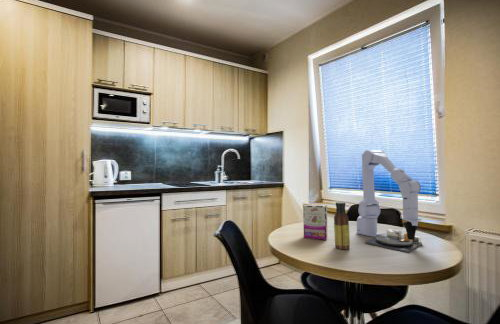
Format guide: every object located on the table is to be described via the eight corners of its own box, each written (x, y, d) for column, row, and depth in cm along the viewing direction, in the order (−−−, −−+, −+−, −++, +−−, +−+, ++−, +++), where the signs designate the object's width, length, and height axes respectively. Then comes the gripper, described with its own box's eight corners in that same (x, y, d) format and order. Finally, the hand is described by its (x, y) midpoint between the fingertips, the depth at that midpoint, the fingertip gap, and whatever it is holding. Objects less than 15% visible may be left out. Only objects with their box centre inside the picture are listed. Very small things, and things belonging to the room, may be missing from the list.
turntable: (370, 241, 123) (370, 231, 123) (382, 235, 134) (382, 226, 134) (406, 248, 112) (406, 237, 112) (416, 241, 123) (416, 231, 123)
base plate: (365, 243, 124) (365, 236, 124) (381, 236, 136) (381, 229, 136) (408, 252, 110) (408, 244, 110) (422, 244, 122) (421, 236, 122)
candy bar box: (327, 238, 133) (327, 205, 134) (326, 240, 129) (326, 206, 129) (305, 235, 137) (305, 203, 138) (303, 238, 133) (303, 205, 133)
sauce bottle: (349, 246, 119) (349, 201, 119) (350, 250, 113) (349, 203, 113) (334, 245, 121) (334, 201, 121) (333, 249, 115) (333, 203, 116)
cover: (384, 237, 123) (384, 230, 123) (388, 235, 127) (388, 228, 127) (399, 240, 119) (399, 233, 119) (403, 237, 123) (403, 230, 123)
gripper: (426, 210, 109) (426, 244, 108) (416, 206, 122) (416, 235, 122) (406, 210, 111) (407, 243, 110) (398, 205, 125) (399, 234, 124)
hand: (410, 239), depth 116 cm, fingers closed, pressing on turntable
